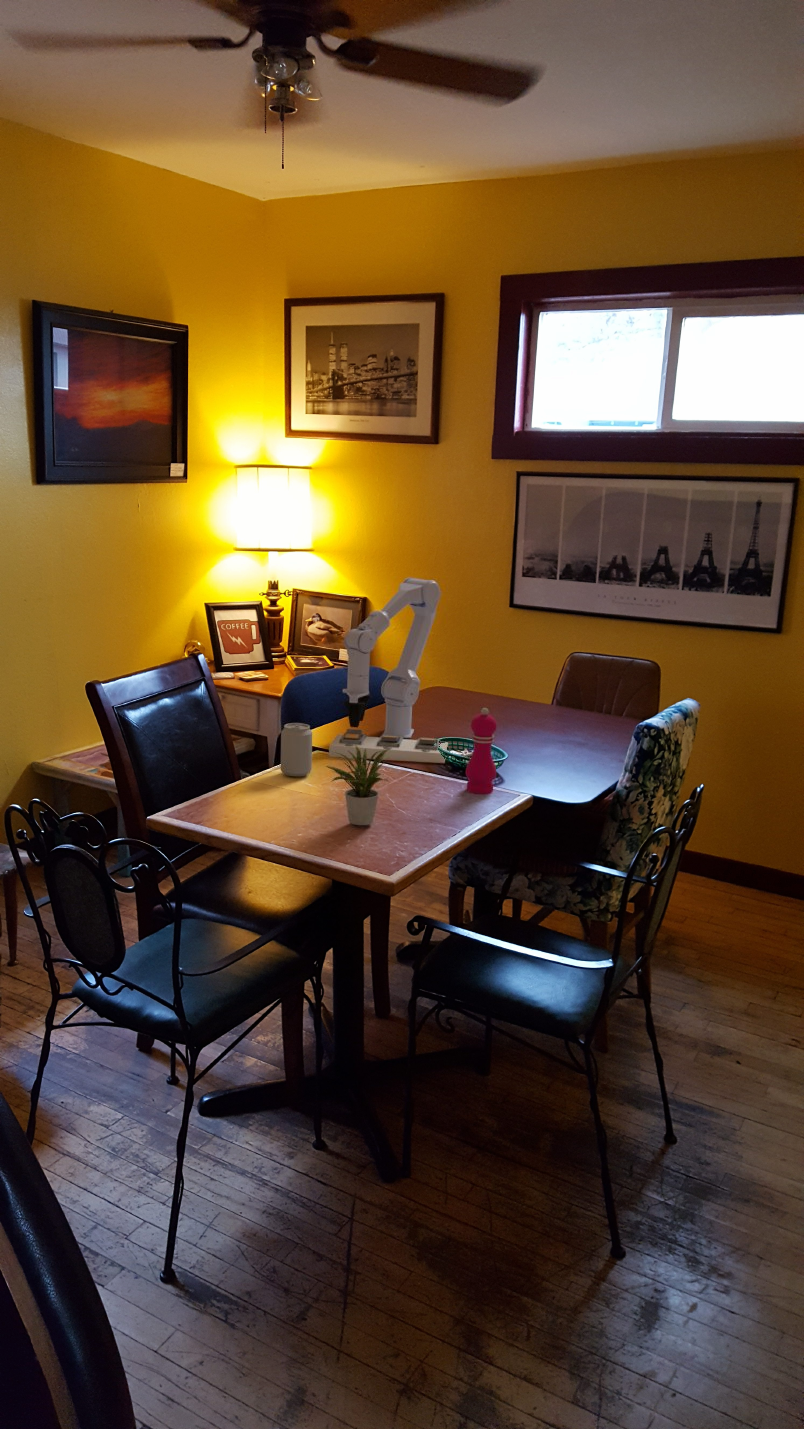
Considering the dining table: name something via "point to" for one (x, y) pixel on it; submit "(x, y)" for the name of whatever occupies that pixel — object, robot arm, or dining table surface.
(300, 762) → the can
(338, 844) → the dining table surface
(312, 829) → the dining table surface
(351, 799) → the house plant
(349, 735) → the rocker
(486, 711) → the pepper mill
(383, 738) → the rocker
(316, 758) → the dining table surface
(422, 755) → the power strip
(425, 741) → the rocker
